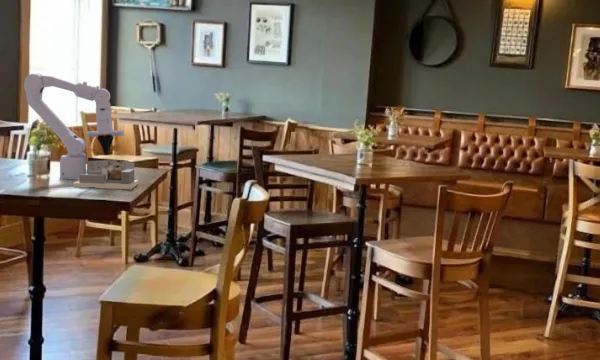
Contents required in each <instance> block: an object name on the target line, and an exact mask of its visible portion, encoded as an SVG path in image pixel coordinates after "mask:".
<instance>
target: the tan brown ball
mask: <svg viewBox="0 0 600 360" xmlns="http://www.w3.org/2000/svg"><path fill="white" fill-rule="evenodd" d="M121 172H122V170H121V169H119V168H115V169H113V170H112V171H111V173H110V177H111V179H112V180H121Z"/></svg>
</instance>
